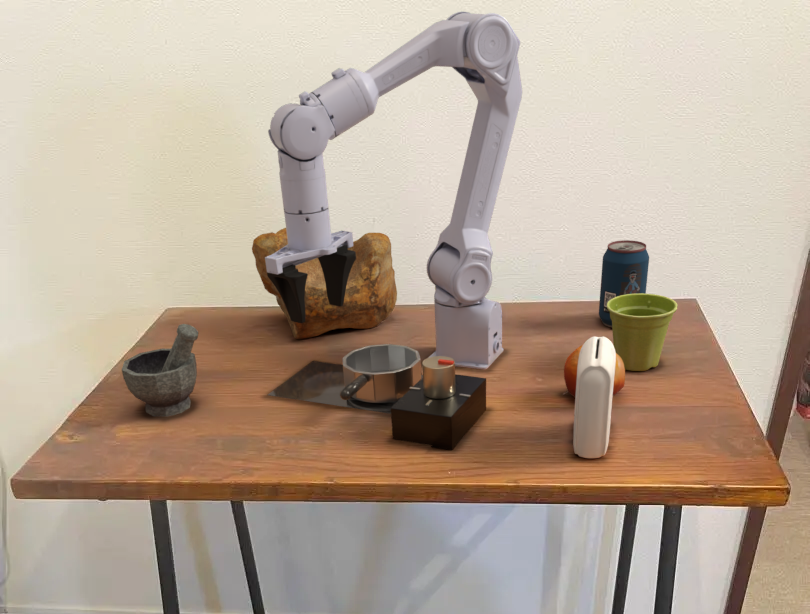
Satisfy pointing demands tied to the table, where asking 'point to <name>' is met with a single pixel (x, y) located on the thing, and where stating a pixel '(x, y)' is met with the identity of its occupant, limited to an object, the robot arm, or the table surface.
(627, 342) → the plant pot
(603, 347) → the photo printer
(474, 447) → the table surface
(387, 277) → the rough brown rock
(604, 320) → the soda can
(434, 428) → the box
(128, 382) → the mortar and pestle
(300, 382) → the hob
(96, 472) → the table surface
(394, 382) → the saucepan
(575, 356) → the fruit
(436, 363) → the knob
